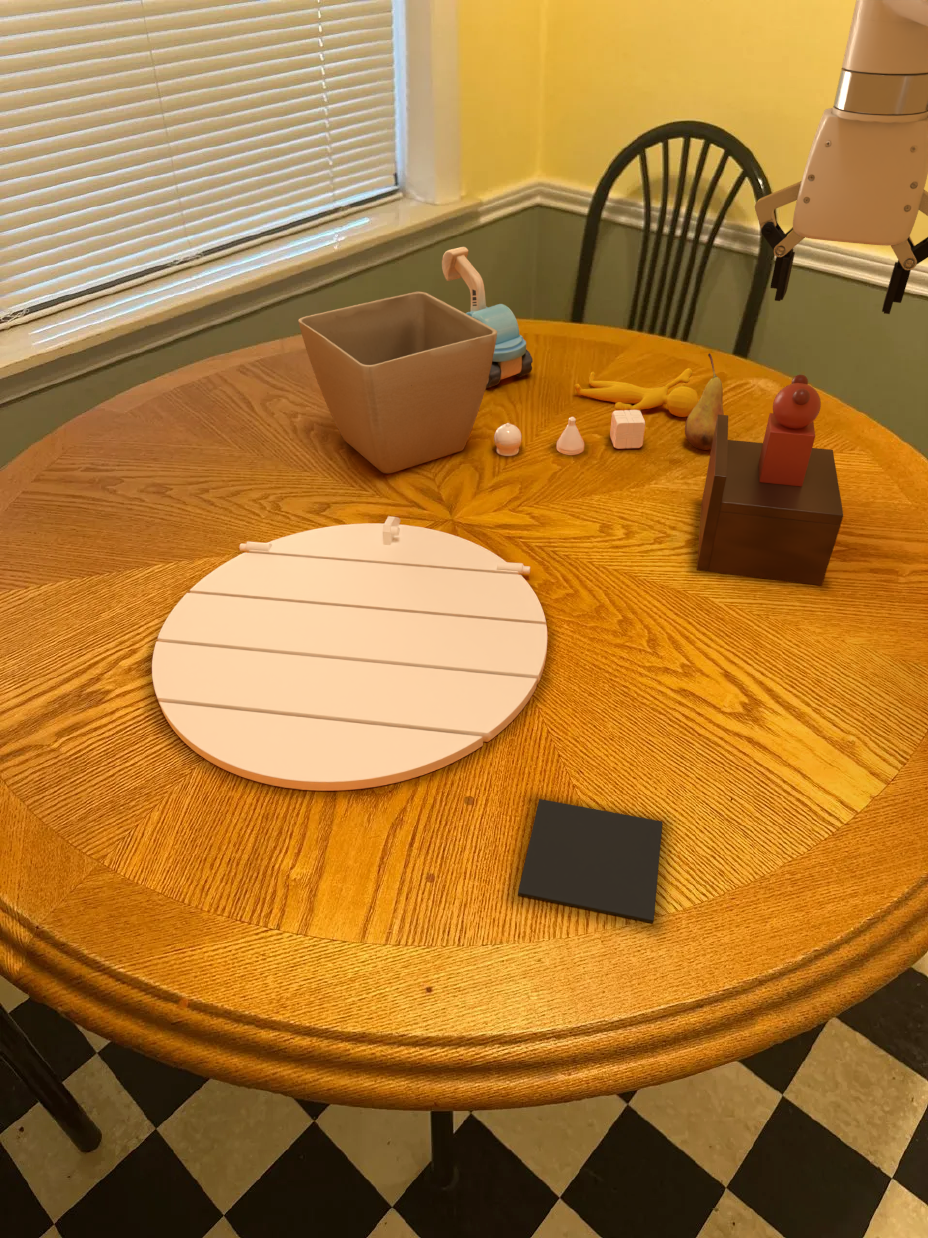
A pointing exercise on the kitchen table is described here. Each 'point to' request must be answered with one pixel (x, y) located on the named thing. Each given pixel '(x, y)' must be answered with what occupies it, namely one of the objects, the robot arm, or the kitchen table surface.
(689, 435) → the fruit
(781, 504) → the wooden box with backboard
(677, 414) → the figurine
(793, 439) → the ball-topped red block
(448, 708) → the round plank board
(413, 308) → the flower pot
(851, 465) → the kitchen table surface
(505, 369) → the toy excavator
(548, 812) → the mat
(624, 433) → the decorative object set
